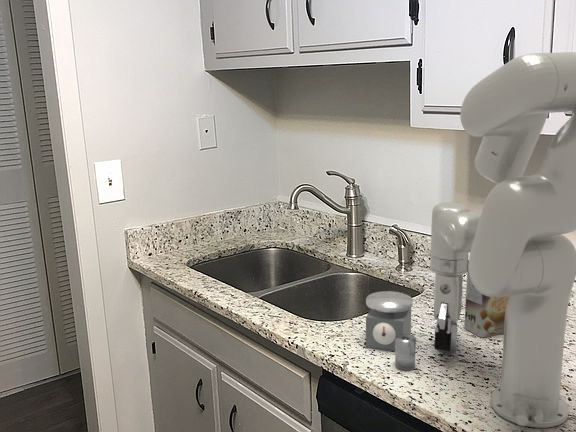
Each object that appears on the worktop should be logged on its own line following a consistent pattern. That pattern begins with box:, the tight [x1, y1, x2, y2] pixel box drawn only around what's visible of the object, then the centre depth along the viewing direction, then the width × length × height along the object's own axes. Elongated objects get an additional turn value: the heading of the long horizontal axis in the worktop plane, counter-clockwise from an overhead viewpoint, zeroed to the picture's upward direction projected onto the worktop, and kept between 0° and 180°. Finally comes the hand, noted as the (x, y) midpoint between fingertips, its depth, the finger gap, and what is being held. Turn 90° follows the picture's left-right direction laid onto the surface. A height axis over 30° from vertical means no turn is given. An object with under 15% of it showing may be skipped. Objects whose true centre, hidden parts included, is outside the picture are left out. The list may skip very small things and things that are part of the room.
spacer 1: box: [394, 334, 417, 372], centre depth 120 cm, size 4×4×6 cm
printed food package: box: [463, 260, 510, 339], centre depth 135 cm, size 9×6×16 cm
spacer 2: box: [436, 320, 458, 355], centre depth 127 cm, size 4×4×6 cm
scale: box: [365, 307, 412, 352], centre depth 131 cm, size 11×8×7 cm
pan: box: [365, 290, 414, 313], centre depth 131 cm, size 10×10×2 cm
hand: (445, 339), depth 127 cm, fingers open, 9 cm apart
